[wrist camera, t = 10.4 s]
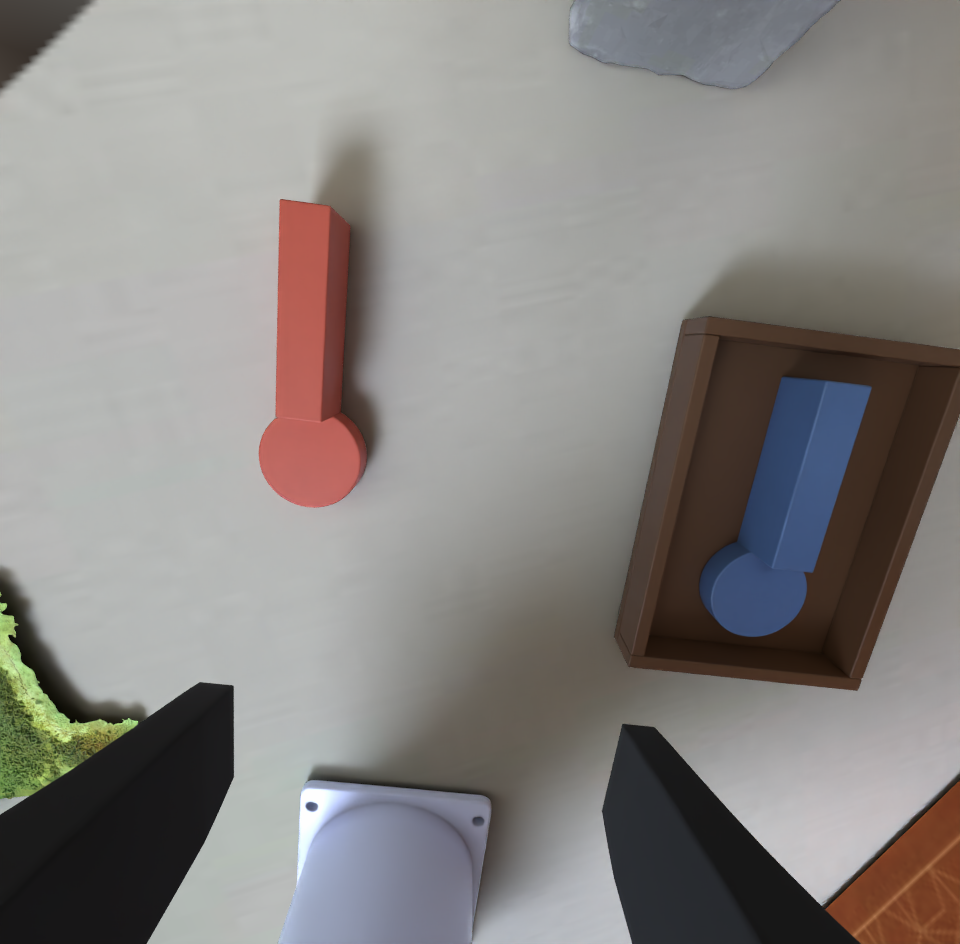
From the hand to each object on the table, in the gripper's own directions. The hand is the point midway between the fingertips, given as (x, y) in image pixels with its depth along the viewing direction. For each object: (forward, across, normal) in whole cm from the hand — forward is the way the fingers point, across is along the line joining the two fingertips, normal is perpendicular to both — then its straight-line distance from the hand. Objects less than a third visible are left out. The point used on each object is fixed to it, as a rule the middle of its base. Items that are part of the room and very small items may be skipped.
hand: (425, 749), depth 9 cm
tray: (+9, -11, -3) cm, 15 cm away
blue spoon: (+9, -11, -3) cm, 15 cm away
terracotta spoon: (+9, +5, -6) cm, 12 cm away
